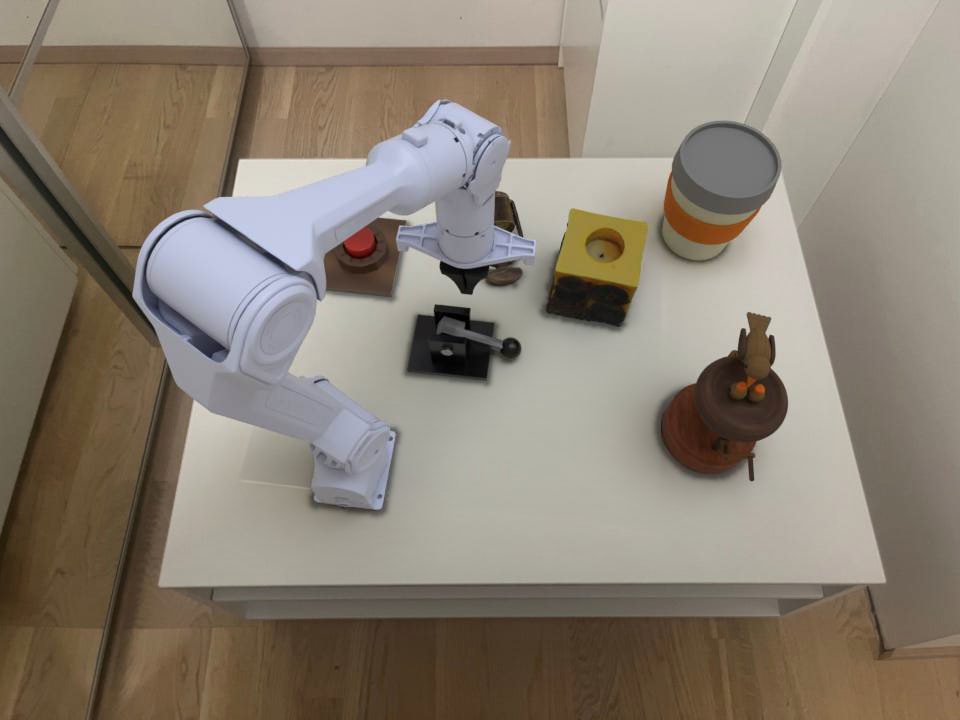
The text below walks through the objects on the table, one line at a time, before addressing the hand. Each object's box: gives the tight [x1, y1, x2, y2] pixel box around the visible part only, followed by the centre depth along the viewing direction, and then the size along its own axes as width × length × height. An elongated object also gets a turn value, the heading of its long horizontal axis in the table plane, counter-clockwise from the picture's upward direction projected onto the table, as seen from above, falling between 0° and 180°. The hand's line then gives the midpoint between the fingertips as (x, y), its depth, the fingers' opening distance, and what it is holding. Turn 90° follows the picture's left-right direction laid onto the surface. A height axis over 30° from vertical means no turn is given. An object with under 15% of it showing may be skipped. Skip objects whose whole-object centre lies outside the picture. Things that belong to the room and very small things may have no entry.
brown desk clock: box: [485, 190, 525, 285], centre depth 89 cm, size 7×13×10 cm
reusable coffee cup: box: [661, 120, 783, 261], centre depth 86 cm, size 13×13×15 cm
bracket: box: [407, 303, 495, 382], centre depth 82 cm, size 10×8×7 cm
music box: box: [660, 311, 789, 482], centre depth 71 cm, size 15×11×20 cm
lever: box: [436, 316, 523, 361], centre depth 82 cm, size 11×3×3 cm, turn 83°
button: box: [344, 227, 376, 258], centre depth 88 cm, size 4×4×2 cm
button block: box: [323, 217, 408, 298], centre depth 90 cm, size 12×10×3 cm
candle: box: [545, 207, 649, 327], centre depth 85 cm, size 10×10×10 cm
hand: (467, 287), depth 77 cm, fingers closed
